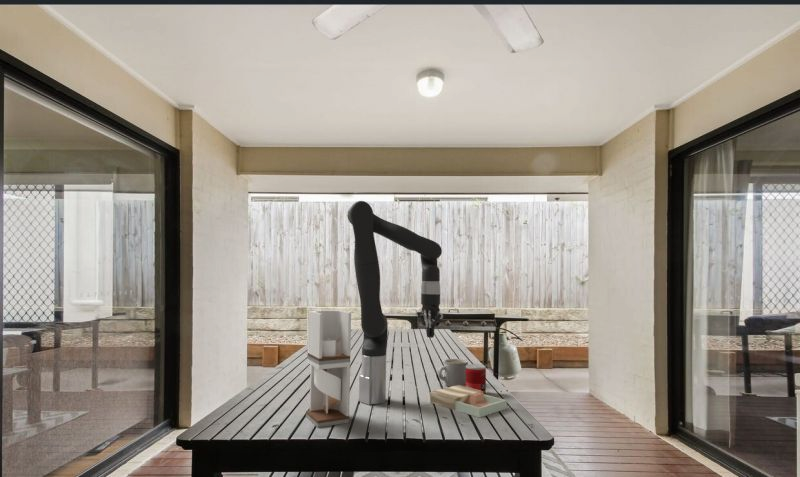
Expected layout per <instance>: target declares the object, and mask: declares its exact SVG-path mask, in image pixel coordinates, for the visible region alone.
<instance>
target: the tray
mask: <svg viewBox="0 0 800 477" xmlns="http://www.w3.org/2000/svg"><path fill="white" fill-rule="evenodd" d="M484 401H485V402H489V403H492V404H489V405H485V406H482V407H476V406H472V405H469V404H465V403H462V402H458V401H455V410H454V411H457V412H460V413H464V414H467V415H470V416H473V417H477V418H483V417H485V416H488V414H489V415H491V414H494V413H495V414H496V413H497V412H501V411H504V410H507V407H508V405H507V404H508V403H507V402H508V401H507V399H504V398H501V397H496V396H493V395H488V394H486V393H485V394H484Z"/></svg>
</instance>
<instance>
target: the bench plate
mask: <svg viewBox="0 0 800 477" xmlns="http://www.w3.org/2000/svg"><path fill="white" fill-rule="evenodd" d="M477 392H480V393H483V391H481V390H477V389H473V388H469V387H465V386H461V385H456V386H452V387H449V386H447V387H444V388H440V389H436V390H432V391H430V392H429V393H430V394H429V395H430V398H429V399H430V400H429V401H430V402H429V403H430V404H433V405H437V406H440V407H443V408H446V409H449V410H453V411H456V410H455V401H458V402H462V403H465V404H469V405H470V394H473V393H477Z"/></svg>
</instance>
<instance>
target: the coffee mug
mask: <svg viewBox="0 0 800 477" xmlns="http://www.w3.org/2000/svg"><path fill="white" fill-rule="evenodd" d="M466 365H469V362H468V360H466V359H462V358H448V359H445V360H444V365H441V366H440V367H438V371H437V374H438V378H439V379H440V380H441V381H443V382H444V385H445V386H447V387H452V386H456V385H461V386H465V387H466ZM443 371H444V376H443V375H442V373H443Z"/></svg>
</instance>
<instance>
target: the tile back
mask: <svg viewBox="0 0 800 477" xmlns="http://www.w3.org/2000/svg"><path fill="white" fill-rule="evenodd" d="M481 402H484V393H480V392H477V393H473V394H470V405H472V406H476V404H478V403H481Z"/></svg>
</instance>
